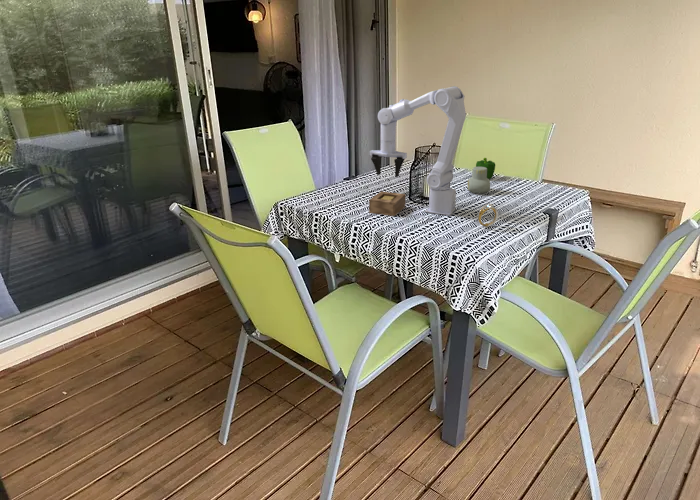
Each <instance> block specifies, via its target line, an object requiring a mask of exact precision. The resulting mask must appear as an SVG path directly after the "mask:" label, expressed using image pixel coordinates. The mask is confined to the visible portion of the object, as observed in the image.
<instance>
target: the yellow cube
mask: <svg viewBox="0 0 700 500" xmlns="http://www.w3.org/2000/svg"><path fill="white" fill-rule="evenodd" d="M394 198H395V197H392V196H384V197H383V198H381V199H384V200H393V199H394Z"/></svg>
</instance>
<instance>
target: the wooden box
mask: <svg viewBox="0 0 700 500" xmlns="http://www.w3.org/2000/svg"><path fill="white" fill-rule="evenodd" d="M384 196H392V197H395V198H394V199H393V200H384V199H381V198H383V197H384ZM406 202H407V201H406V193H398V192H390V191H380V192H378V193H377V194H375V195H374V196H372V197H371V198H370V199H369V200H368V204H369V205H368V211H369V212H368V213H370V214H378V215H384V216H392V217H395V216H396V215H398V214H399V213H400V212H402V210H403V209H404V208H405V207H406Z"/></svg>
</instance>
